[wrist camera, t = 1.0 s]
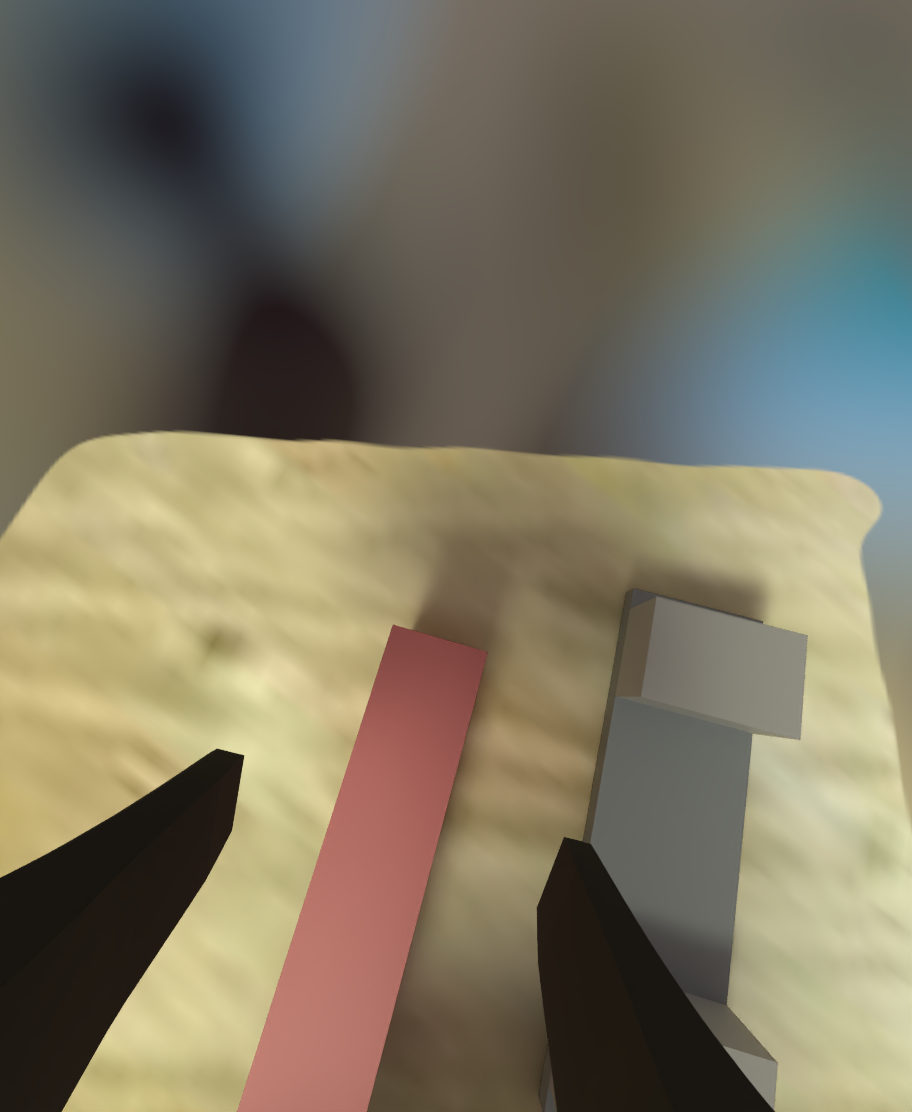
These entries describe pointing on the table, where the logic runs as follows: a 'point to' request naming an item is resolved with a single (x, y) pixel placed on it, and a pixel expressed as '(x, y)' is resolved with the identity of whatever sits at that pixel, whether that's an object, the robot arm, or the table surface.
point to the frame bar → (367, 884)
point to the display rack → (688, 790)
